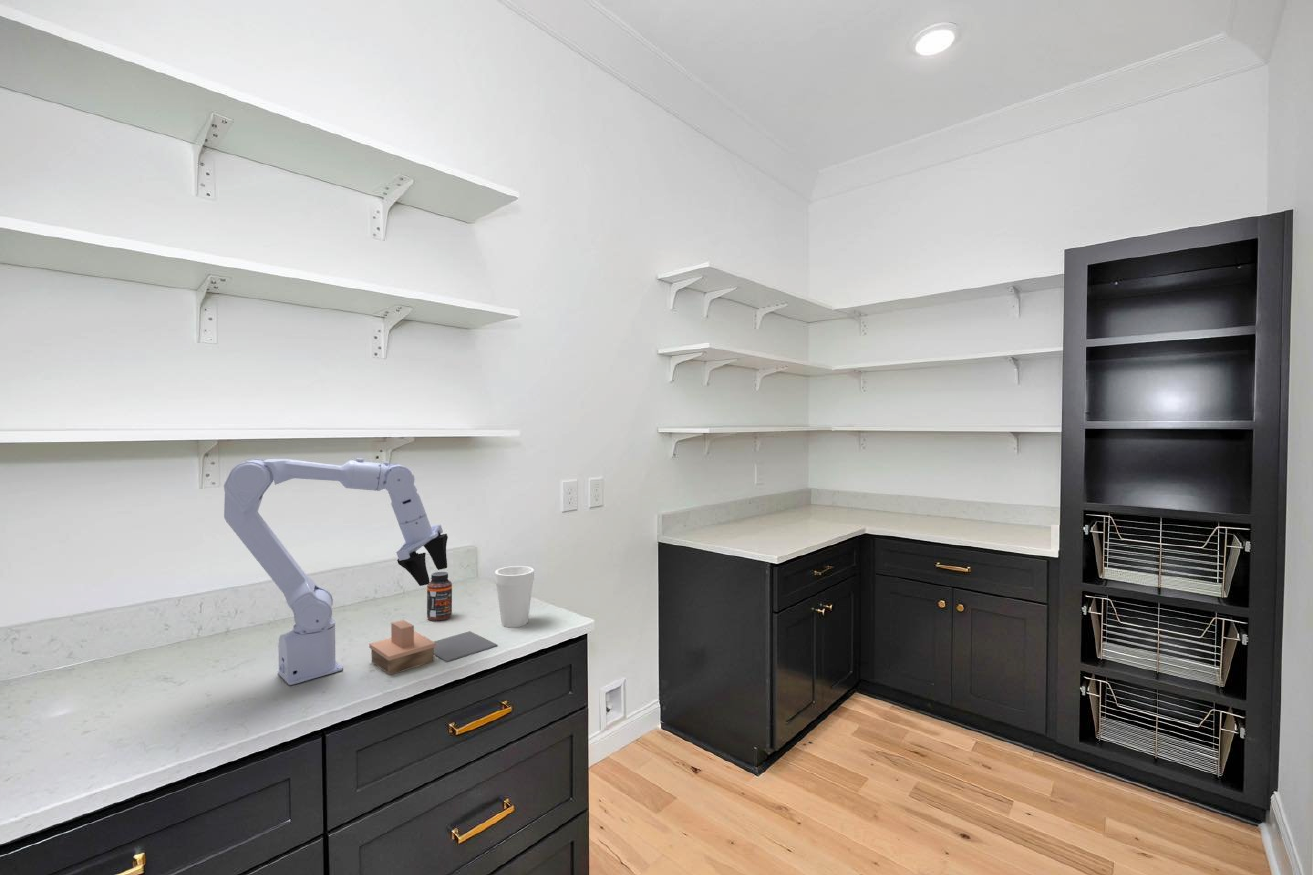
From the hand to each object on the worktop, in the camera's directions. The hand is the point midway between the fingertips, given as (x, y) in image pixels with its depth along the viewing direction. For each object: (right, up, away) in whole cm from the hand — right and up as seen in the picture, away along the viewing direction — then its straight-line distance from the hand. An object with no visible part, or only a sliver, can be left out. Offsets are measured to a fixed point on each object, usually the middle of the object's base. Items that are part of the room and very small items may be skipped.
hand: (433, 576), depth 125 cm
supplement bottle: (-7, -16, +21) cm, 27 cm away
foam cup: (+13, -16, +18) cm, 27 cm away
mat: (+5, -16, +3) cm, 17 cm away
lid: (-4, -13, -6) cm, 15 cm away
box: (-4, -16, -5) cm, 18 cm away
